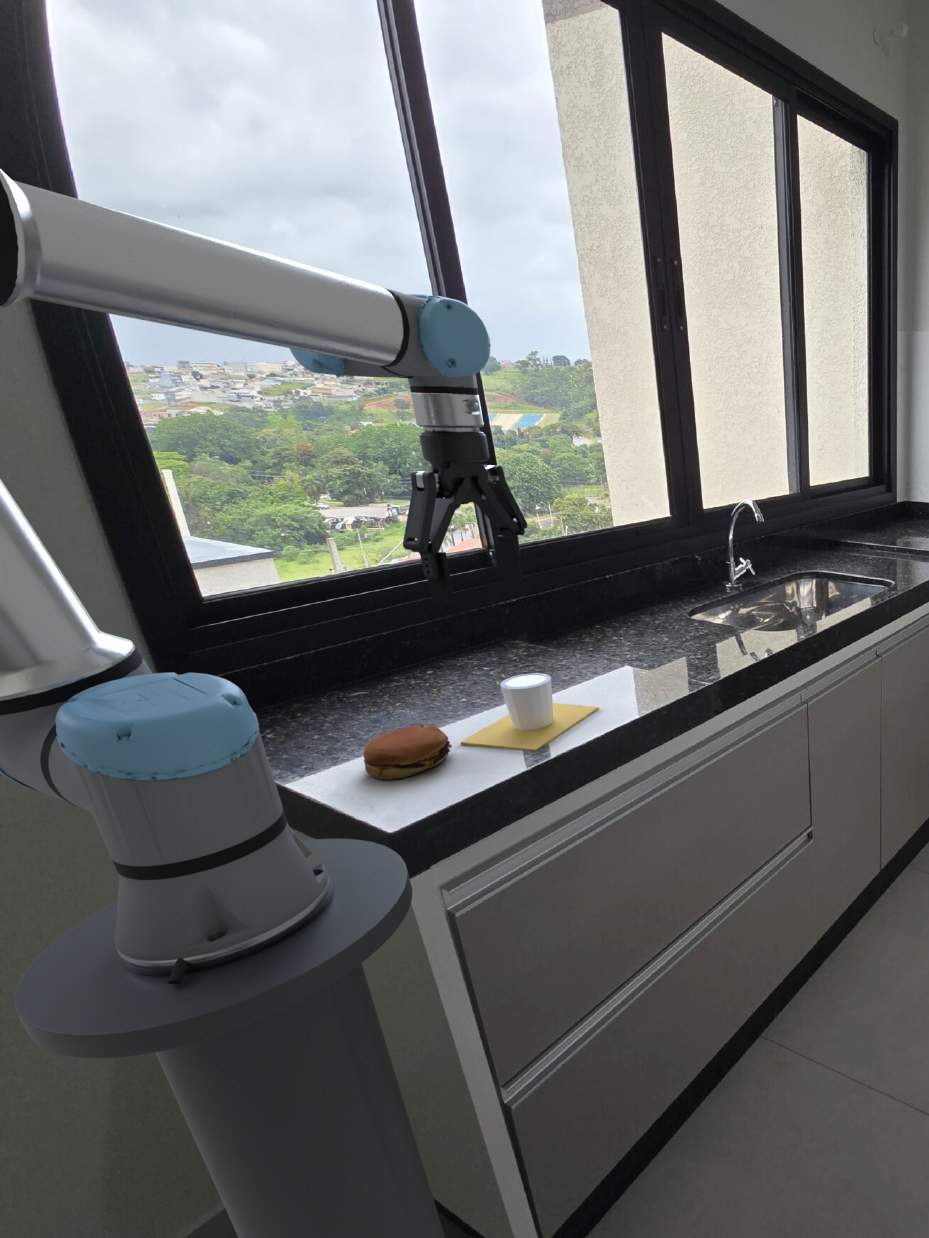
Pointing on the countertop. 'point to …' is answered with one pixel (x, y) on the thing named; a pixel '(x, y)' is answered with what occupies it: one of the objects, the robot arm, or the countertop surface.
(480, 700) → the countertop surface
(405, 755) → the burger
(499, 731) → the cloth
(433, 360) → the robot arm
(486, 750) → the countertop surface
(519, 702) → the shot glass
